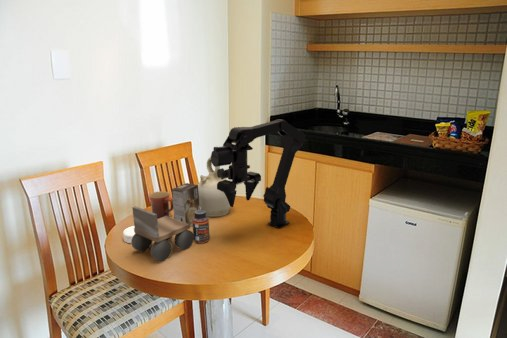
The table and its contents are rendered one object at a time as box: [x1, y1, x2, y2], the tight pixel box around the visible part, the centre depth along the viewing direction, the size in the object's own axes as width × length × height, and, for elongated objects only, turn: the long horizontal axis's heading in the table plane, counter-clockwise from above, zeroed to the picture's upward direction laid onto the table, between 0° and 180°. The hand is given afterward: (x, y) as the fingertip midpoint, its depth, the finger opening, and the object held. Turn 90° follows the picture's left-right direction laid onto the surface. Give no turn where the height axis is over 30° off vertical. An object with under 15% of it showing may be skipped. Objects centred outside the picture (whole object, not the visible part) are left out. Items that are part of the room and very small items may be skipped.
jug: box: [197, 156, 231, 218], centre depth 168 cm, size 15×16×25 cm
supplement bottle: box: [192, 209, 210, 244], centre depth 144 cm, size 6×6×11 cm
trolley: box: [130, 206, 194, 262], centre depth 137 cm, size 17×13×17 cm
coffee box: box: [171, 182, 201, 228], centre depth 158 cm, size 9×6×16 cm
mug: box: [148, 190, 174, 219], centre depth 165 cm, size 12×9×10 cm
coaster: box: [122, 225, 135, 244], centre depth 148 cm, size 10×10×4 cm
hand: (239, 203), depth 145 cm, fingers open, 9 cm apart
